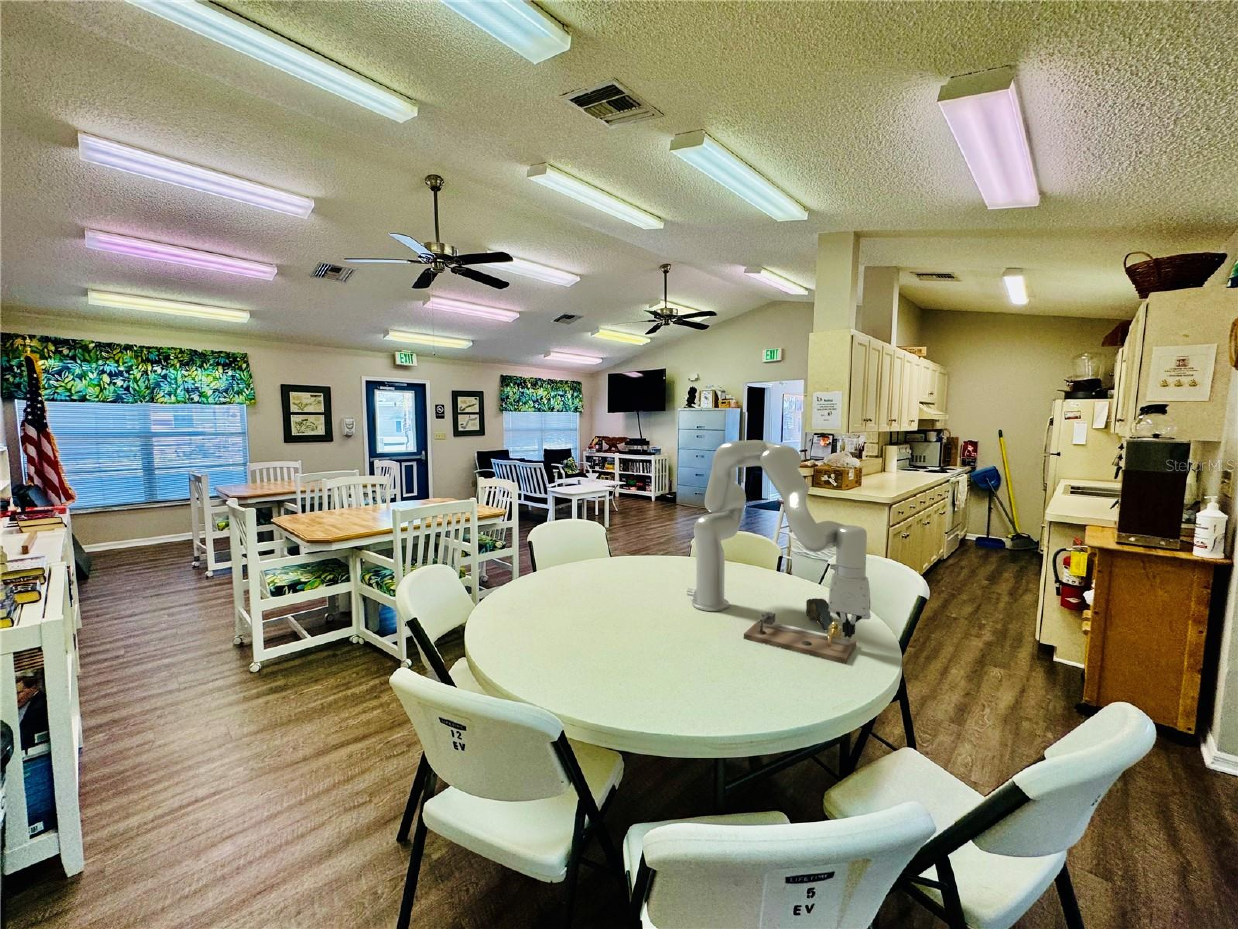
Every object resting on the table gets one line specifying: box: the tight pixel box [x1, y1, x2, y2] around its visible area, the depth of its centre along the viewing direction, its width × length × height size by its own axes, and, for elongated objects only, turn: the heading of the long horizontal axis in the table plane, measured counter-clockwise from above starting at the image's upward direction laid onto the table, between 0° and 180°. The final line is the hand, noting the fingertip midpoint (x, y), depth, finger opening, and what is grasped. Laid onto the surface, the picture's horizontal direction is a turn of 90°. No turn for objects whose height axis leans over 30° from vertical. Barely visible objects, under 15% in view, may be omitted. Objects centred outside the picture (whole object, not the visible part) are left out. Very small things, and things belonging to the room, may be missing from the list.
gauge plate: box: [743, 610, 857, 665], centre depth 148 cm, size 28×13×5 cm, turn 54°
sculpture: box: [805, 597, 834, 631], centre depth 162 cm, size 13×6×7 cm, turn 175°
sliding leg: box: [827, 621, 843, 647], centre depth 143 cm, size 3×8×5 cm, turn 144°
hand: (848, 635), depth 143 cm, fingers closed
